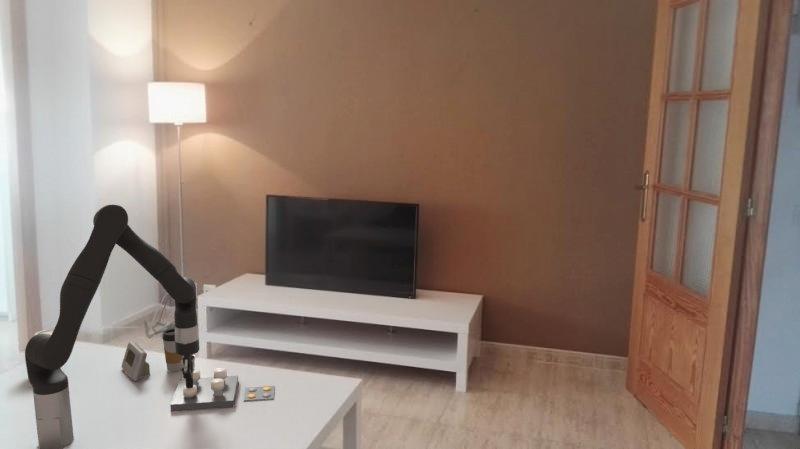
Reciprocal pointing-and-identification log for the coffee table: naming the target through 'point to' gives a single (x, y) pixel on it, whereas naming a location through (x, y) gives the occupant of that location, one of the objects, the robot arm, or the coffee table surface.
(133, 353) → the digital clock
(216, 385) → the button
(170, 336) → the coffee cup
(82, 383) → the coffee table surface
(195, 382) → the button
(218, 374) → the button
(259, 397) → the card
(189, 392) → the button
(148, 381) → the coffee table surface
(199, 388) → the board
